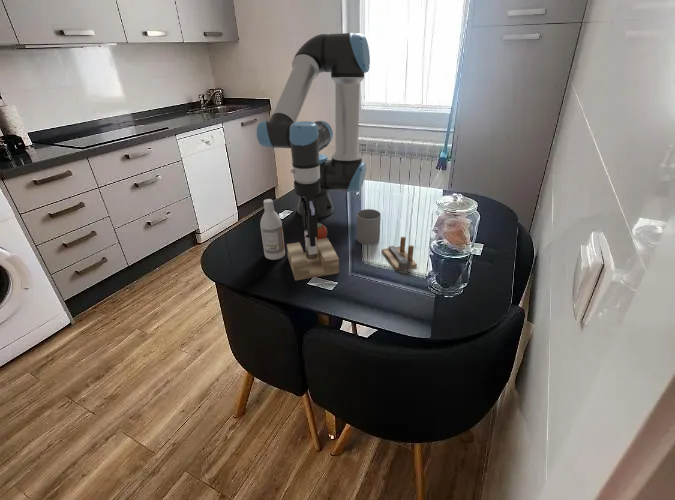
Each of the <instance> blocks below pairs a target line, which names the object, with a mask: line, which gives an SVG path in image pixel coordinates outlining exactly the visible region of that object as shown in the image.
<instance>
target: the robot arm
mask: <svg viewBox="0 0 675 500" xmlns="http://www.w3.org/2000/svg"><path fill="white" fill-rule="evenodd" d="M370 57H371V55H370V48H369V44H368V41H367V37H366V36H365V35H364V34H362V33H357V32H355V33H354V32H346V33H345V32H344V33H321V34H317V35H315V36H312V37H311V38H310V39H308V40H307V41H305V43H304V44H303V45H302V46H301V47H300V48H299V49H298V50H297V51H296V53H295V55H294V57H293V59H292V62H291V67H292V69H291V71H290V73H289V77H288V79H287V80H286V83H285V85H284V88H283V90H282V91H281V94H280V97H279V99H278V102H277V104H276V105H275V108H274V111H272V114H271V117H270V119H269V120H263V121H260V122H259V123H258V124H257V128H256V139H257V142H258V143H259V145H260V146H262V147H265V148H272V149H274V148H275V149H279V148H280V149H290V151H291V153H290V154H291V161H292V162H291V163H292V169H290V173H291V174H293V180H294V181H293V188H294V193H295V195H296V196H299V200H298V203H297V207H296V208H297V214H298V215H299V216H301V217H302V225H303V228H304V230H307V231H308V235H305V234H304V237H305V236H306V238H307V242H308V254H309V255H312V254H317V240H316V237H318V228H317V222H318V219H321V218H326V217H328V216H330V215H332V214H333V212H334V204H333V202H332V199H331V196H330V193H329V191H335V192H336V191H339V192H346V193H350V192H351V193H356V192H357V193H358V192H359V191H361V189H362V187H363V184H364V181H365V177H366V173H367V172H366V170H367V164H366V162H365V161H362V160H363V159H362V155H361V154H360V153H359V128H360V127H359V124H360V123H359V120H360V118H359V117H360V87H361V85H360V84H361V82H362V81H363V80H364V79H365V74H366V73H368V72H369V71H370V65H371V59H370ZM321 73H330V79H331V80H332V81H333V82H334V84H335V89H334V90H335V93H334V95H335V98H334V99H335V100H334V101H335V103H334V104H335V106H334V107H335V109H334V110H335V111H334V113H335V115H334V116H335V118H334V119H335V120H334V121H335V125H334V126H335V129H334V130H335V131H334V132H333V129H332V126H331V125H330V124H329V123H328V122H327V121H323V120H318V121H317V120H316V121H308V120H306V121H302V120H301V121H297V120H298V118H299V116H300V113H301V111H302V108H303V106H304V104H305V101H306V99H307V97H308V96H307V95H308V93H309V91H310V88H311V86H312V83H313V82H314V81H315V80H316V79H317V78H318V76H319V75H320V74H321ZM334 133H335V145H334V146H335V147H334V148H335V152H334V153H333V154H332V155H331V159H328V156H327V155H326V154H320V152H321V151H322V150H324V149H325V148H327V147H328V146H329V145H330V143H331V142H332V140H333V137H334Z"/></svg>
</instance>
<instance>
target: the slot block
mask: <svg viewBox="0 0 675 500" xmlns="http://www.w3.org/2000/svg"><path fill="white" fill-rule="evenodd" d="M286 251H287V252H286V253H287V258H288V262H289V265H290V269H291V271H292V274H293V275H292V276H293V279H294V281H301V280H306V279H312V278H319V277H323V276H324V277H325V276H329V275H334V274H339V273H340V258H339V256H338V255H337V252H336V250H335V248H334V246H333V245H332V243H331V242H330V239H329V238H328V237H326V238H324V239H317V258H316V259H313V260H310V259H307V258H306V252H304V249H303V247H302V244H301V242H292V243H286Z"/></svg>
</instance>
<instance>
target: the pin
mask: <svg viewBox="0 0 675 500" xmlns="http://www.w3.org/2000/svg"><path fill="white" fill-rule="evenodd" d="M303 232H304V243H305V244H304V245H305V253H306V258H307V259H310V260H313V259H316V258H317V254H312V255H309V254H308V242H307V238H306V236H305V235H308V231H307V230H306V229H304V231H303ZM316 240H317V239H316Z"/></svg>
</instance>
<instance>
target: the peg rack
mask: <svg viewBox="0 0 675 500" xmlns="http://www.w3.org/2000/svg"><path fill="white" fill-rule="evenodd" d="M406 239H407V238H406V236H401V237H400V243H399V245H398V246H394V245H389V246H388V248H387V247H386V248H382V250H381V252H382V254H384V257H385V258H386V259H387V260H388V262H389V264H391V265H392V267H393V268H394V270H396V271H402V270H406V269H411V268H417V266H418V264H417V262H415V260H414V259H413V258H414V249H415V248H414V247H415V246H414V245H412V244H409V245H408V247H407V248H408V251H406Z"/></svg>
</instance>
